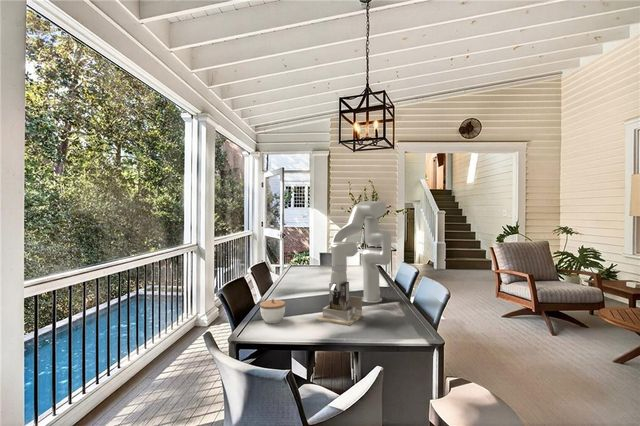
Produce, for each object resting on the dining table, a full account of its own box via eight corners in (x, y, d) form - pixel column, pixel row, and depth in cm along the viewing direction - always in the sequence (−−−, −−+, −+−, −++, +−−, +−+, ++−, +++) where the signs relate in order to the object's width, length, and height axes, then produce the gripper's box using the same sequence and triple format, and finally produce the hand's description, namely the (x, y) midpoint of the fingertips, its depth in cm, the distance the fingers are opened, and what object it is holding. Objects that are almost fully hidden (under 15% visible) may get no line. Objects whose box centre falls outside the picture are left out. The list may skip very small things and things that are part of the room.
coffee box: (349, 312, 186) (349, 281, 185) (346, 316, 179) (346, 284, 179) (332, 311, 188) (332, 280, 188) (329, 314, 182) (328, 283, 182)
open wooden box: (331, 311, 195) (331, 293, 195) (362, 316, 186) (362, 297, 186) (316, 320, 181) (316, 300, 181) (348, 325, 172) (348, 305, 172)
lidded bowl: (257, 319, 184) (257, 297, 183) (281, 316, 188) (281, 295, 188) (263, 326, 172) (263, 303, 172) (288, 323, 177) (288, 301, 177)
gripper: (340, 264, 193) (340, 297, 193) (324, 270, 178) (324, 306, 178) (353, 265, 189) (353, 299, 189) (337, 271, 174) (338, 308, 174)
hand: (339, 302), depth 184 cm, fingers closed on coffee box, 7 cm apart
